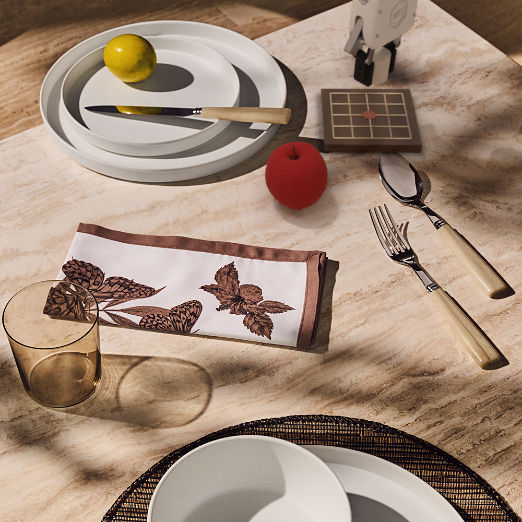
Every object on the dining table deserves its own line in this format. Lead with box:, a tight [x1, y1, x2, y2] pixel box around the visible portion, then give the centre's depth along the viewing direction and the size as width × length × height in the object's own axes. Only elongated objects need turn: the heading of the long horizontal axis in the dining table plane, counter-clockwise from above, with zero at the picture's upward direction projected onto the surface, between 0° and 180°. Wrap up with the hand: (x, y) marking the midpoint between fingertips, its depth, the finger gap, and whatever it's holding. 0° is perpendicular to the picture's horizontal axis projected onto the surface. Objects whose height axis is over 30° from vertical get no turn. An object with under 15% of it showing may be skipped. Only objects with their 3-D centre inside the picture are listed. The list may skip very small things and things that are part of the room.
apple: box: [264, 141, 329, 211], centre depth 96 cm, size 9×9×10 cm
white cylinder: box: [362, 46, 391, 86], centre depth 103 cm, size 4×4×4 cm
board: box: [320, 88, 423, 153], centre depth 110 cm, size 15×15×2 cm
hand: (373, 74), depth 104 cm, fingers closed on white cylinder, 4 cm apart
